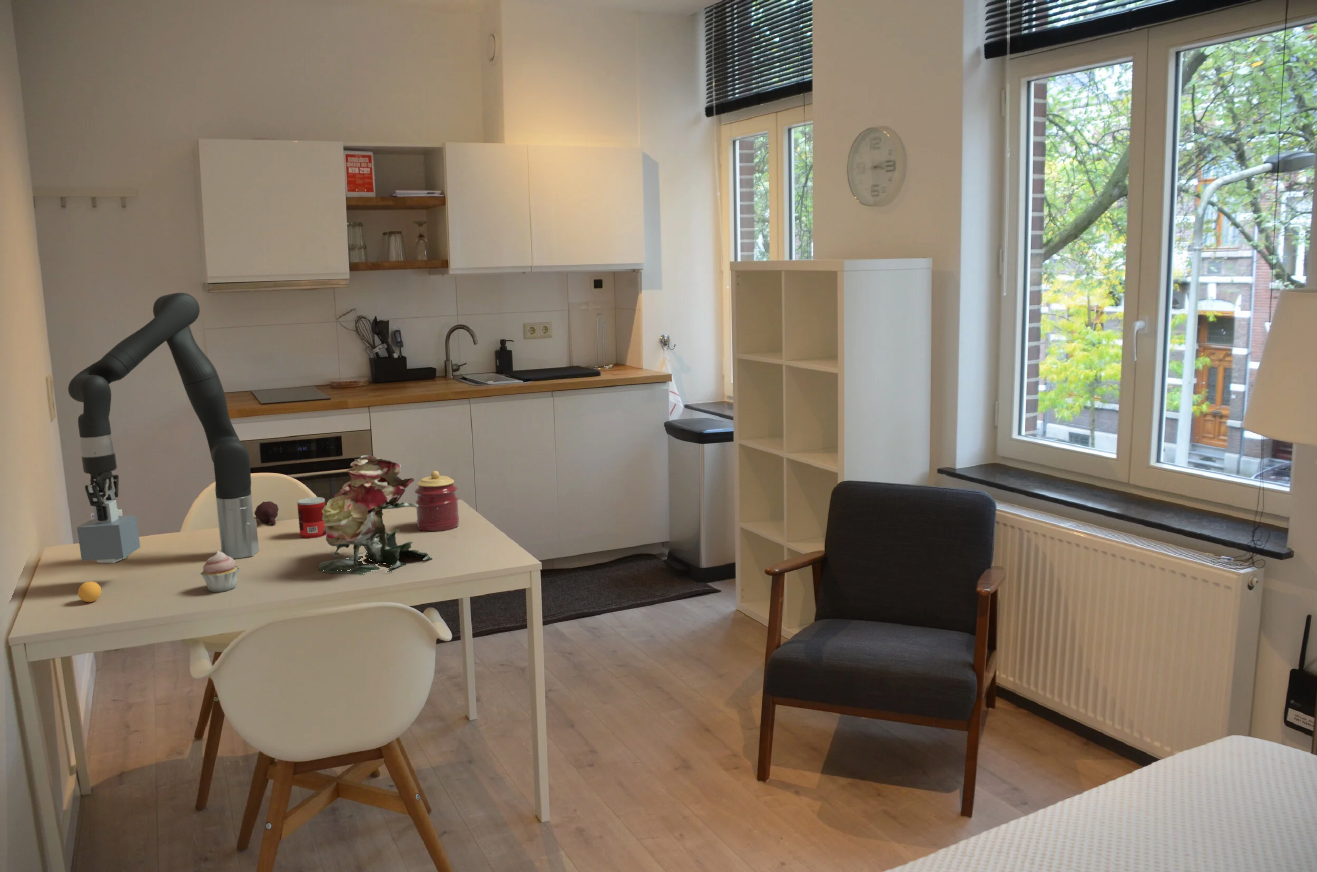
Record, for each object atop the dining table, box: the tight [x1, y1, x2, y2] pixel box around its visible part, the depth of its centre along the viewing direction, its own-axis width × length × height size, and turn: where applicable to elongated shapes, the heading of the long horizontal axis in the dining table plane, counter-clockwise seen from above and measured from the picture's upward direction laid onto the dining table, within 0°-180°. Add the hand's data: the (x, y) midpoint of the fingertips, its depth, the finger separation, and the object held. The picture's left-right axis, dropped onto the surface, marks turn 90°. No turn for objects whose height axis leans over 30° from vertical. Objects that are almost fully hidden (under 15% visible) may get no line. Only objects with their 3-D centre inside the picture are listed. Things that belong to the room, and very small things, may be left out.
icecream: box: [253, 501, 279, 526], centre depth 325 cm, size 7×7×15 cm
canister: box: [414, 470, 460, 532], centre depth 313 cm, size 13×13×18 cm
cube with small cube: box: [76, 500, 141, 562], centre depth 260 cm, size 10×10×14 cm
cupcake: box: [199, 550, 241, 593], centre depth 256 cm, size 9×9×10 cm
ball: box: [77, 581, 102, 603], centre depth 248 cm, size 5×5×5 cm
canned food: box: [296, 496, 327, 539], centre depth 307 cm, size 8×8×11 cm
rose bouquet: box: [318, 455, 438, 576], centre depth 273 cm, size 26×29×30 cm
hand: (107, 517), depth 259 cm, fingers closed on cube with small cube, 4 cm apart
